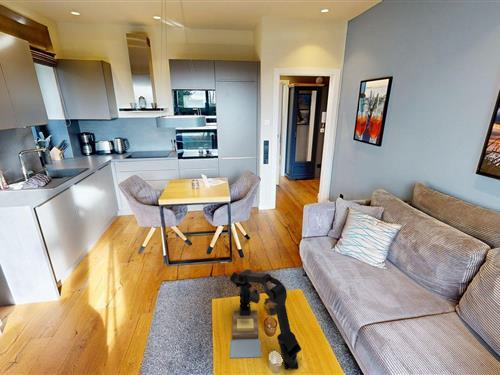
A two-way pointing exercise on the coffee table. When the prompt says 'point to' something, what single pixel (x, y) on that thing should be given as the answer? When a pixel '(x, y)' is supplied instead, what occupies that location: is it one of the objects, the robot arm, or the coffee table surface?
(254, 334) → the deck
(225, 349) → the coffee table surface
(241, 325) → the bevelled yellow tile
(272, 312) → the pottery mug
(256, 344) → the mat
